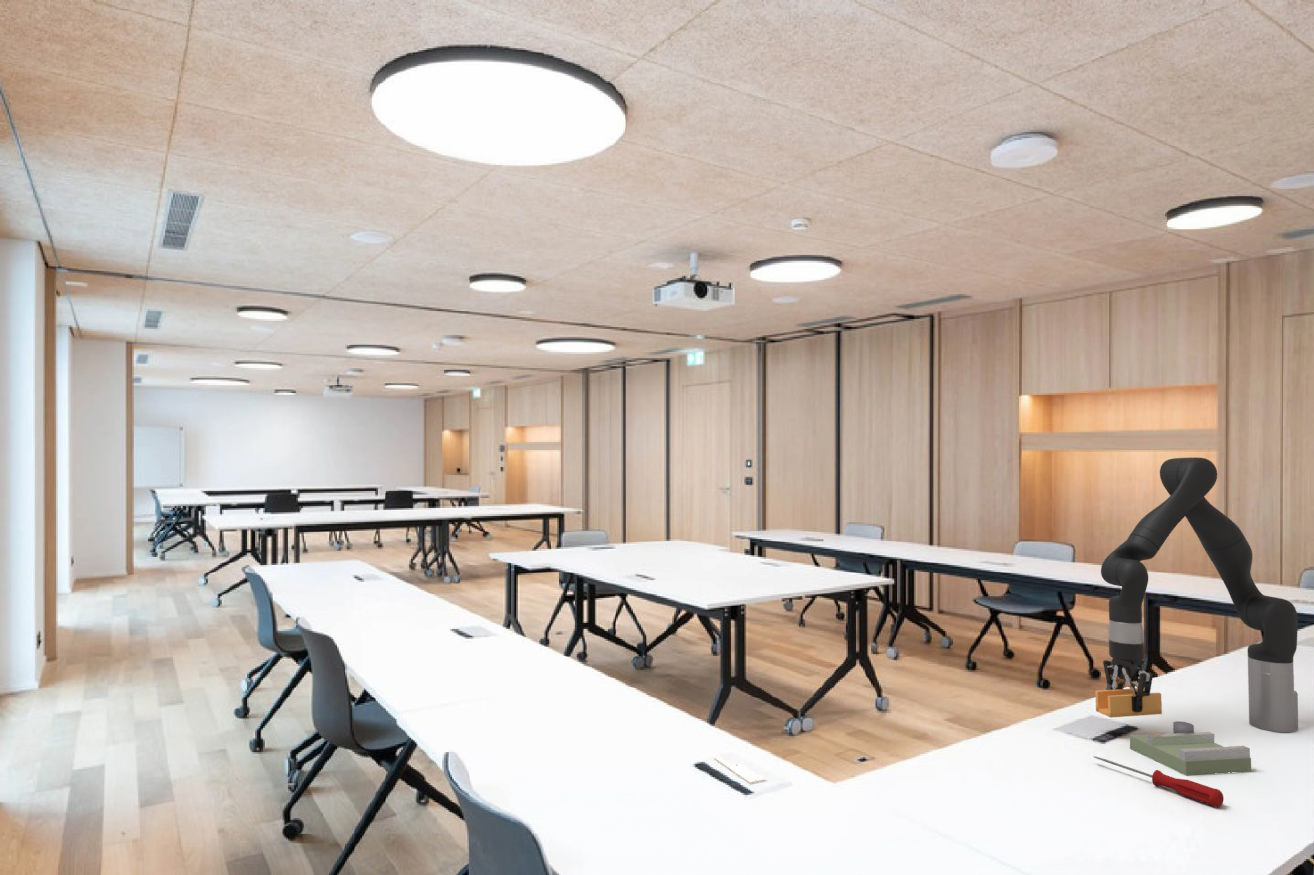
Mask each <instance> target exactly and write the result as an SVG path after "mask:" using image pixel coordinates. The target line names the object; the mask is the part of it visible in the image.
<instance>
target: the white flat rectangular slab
mask: <svg viewBox="0 0 1314 875" xmlns="http://www.w3.org/2000/svg"><path fill="white" fill-rule="evenodd" d="M713 757H714V761H715V762H717V763H719V765H721V766H723V767H724V768H726V769H727V770H728V771H730V772H731V773H733V774H735V775H736V776H738V777H739V778H740V779H742V780H743V781H744V782H746V783H747V784H749V785H754V784H759V783H765V782H769V780H768V779H766V778H764V776H762V775H760V774H758V773H757V772H756V771H754V770H752V769H751V768H750V767H749V766H747V765H745V764H742V763H736V764H735V765H734V764H731V763H730V762H728V761H726V760H725V759H724V758H723V757H722V756H721V755H719V756H713Z"/></svg>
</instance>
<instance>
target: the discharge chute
mask: <svg viewBox="0 0 1314 875" xmlns="http://www.w3.org/2000/svg"><path fill="white" fill-rule="evenodd" d="M1135 690H1136V691H1137V690H1138V689H1137V687H1135ZM1094 691H1095V692H1094V693H1095V712H1097V713H1099V714H1102V715H1105V716H1106V717H1108V718H1123V717H1124V718H1125V717H1138V716H1139V717H1140V716H1151V715H1162V714H1163V713H1162V712H1163V708H1162V707H1163V706H1162V705H1163V704H1162V703H1163V702H1162V693H1160V692H1150V695H1149V696H1143V698H1142V701H1143V709H1142V712H1133V711H1132V694H1131V690H1130V688H1124V689H1116V690H1114V689H1105V690H1104V689H1103V690H1094ZM1143 691H1145V688H1144V689H1143Z"/></svg>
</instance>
